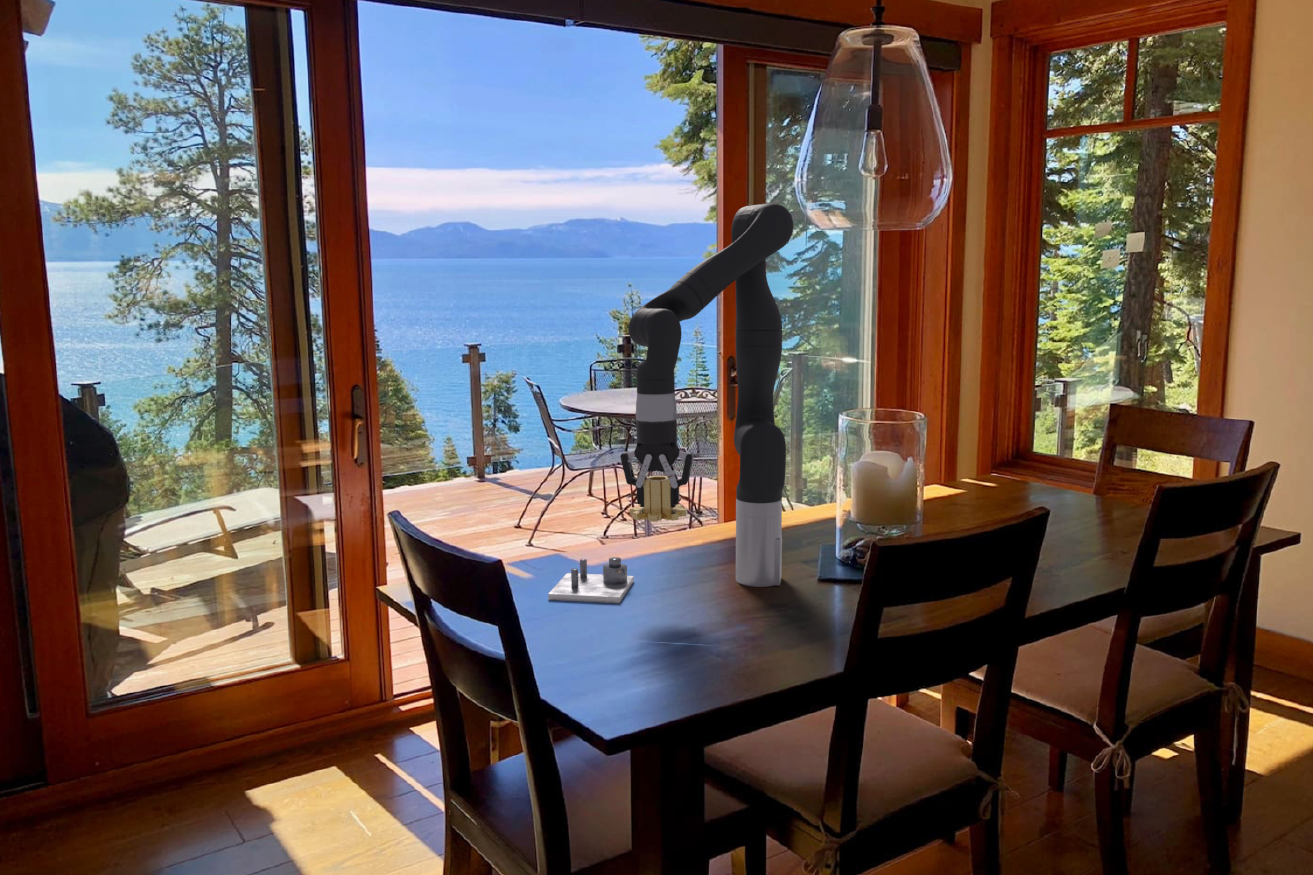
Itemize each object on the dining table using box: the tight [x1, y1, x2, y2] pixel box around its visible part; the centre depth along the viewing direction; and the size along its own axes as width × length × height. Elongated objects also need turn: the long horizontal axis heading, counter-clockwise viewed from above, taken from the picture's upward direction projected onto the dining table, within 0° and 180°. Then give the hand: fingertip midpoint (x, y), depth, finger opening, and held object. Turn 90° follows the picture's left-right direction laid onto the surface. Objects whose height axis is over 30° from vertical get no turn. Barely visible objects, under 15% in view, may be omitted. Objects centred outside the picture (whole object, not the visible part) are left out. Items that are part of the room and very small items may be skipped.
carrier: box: [547, 556, 635, 604], centre depth 191 cm, size 14×14×6 cm
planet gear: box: [629, 475, 688, 523], centre depth 181 cm, size 11×11×7 cm
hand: (658, 506), depth 182 cm, fingers closed on planet gear, 5 cm apart
